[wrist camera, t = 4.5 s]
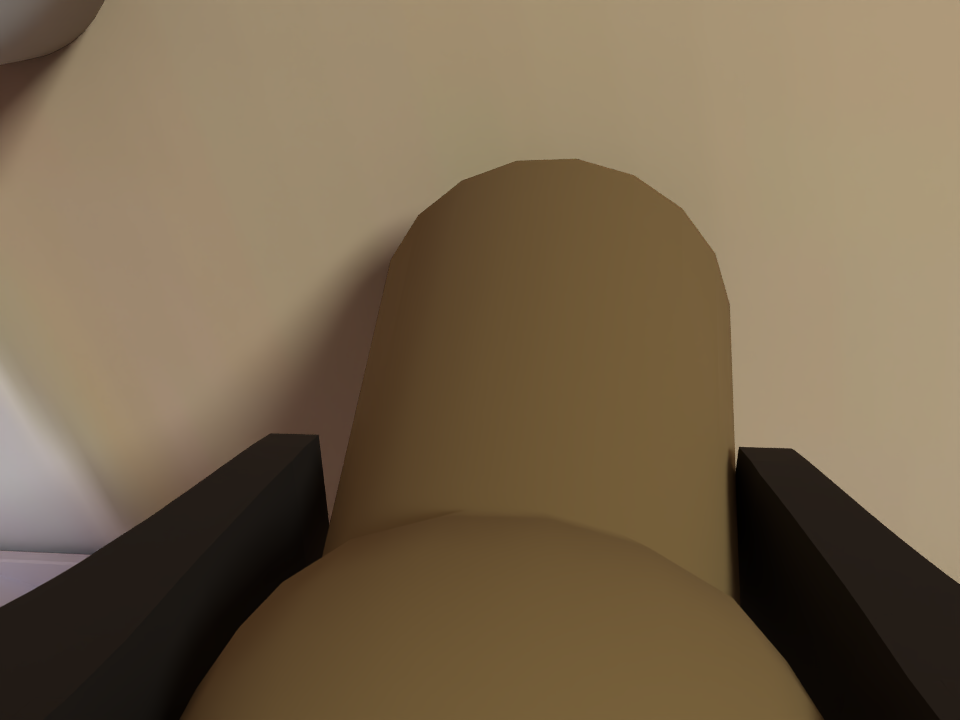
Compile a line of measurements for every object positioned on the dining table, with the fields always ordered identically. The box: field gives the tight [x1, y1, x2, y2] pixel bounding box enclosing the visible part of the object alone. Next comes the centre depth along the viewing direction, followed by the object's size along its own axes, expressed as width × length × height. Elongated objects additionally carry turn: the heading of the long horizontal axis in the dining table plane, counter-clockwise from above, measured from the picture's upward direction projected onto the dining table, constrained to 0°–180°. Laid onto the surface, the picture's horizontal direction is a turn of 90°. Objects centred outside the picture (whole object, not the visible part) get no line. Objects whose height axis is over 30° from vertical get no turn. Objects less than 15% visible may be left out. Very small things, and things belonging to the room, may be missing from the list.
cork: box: [179, 159, 824, 720], centre depth 10 cm, size 6×6×11 cm
